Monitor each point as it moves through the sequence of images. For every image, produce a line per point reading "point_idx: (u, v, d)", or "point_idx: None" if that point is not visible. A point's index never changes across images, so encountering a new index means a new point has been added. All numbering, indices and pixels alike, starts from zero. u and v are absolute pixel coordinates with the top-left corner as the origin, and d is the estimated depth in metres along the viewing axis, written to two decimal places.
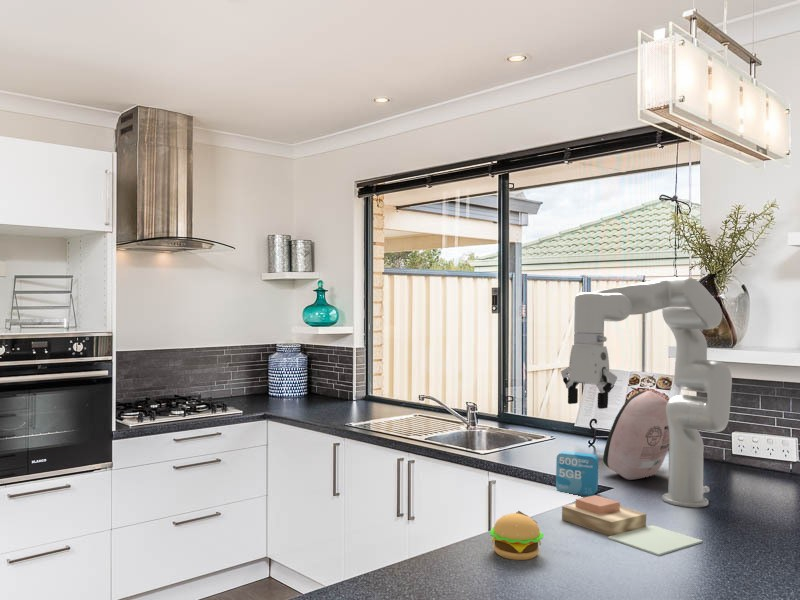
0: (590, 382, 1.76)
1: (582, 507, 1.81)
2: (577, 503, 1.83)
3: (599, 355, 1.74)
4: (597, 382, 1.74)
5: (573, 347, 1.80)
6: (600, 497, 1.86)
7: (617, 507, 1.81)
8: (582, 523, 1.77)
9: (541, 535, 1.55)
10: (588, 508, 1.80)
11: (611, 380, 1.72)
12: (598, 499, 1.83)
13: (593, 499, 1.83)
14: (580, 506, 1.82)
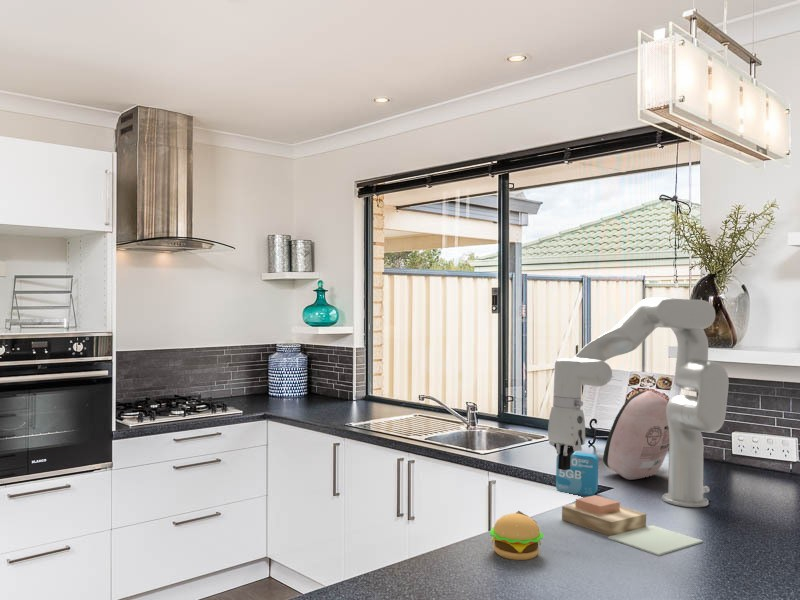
0: (567, 443, 1.88)
1: (582, 507, 1.81)
2: (577, 503, 1.83)
3: (576, 419, 1.87)
4: (573, 444, 1.87)
5: (552, 409, 1.93)
6: (600, 497, 1.86)
7: (617, 507, 1.81)
8: (582, 523, 1.77)
9: (541, 535, 1.55)
10: (588, 508, 1.80)
11: (575, 449, 1.88)
12: (598, 499, 1.83)
13: (593, 499, 1.83)
14: (580, 506, 1.82)
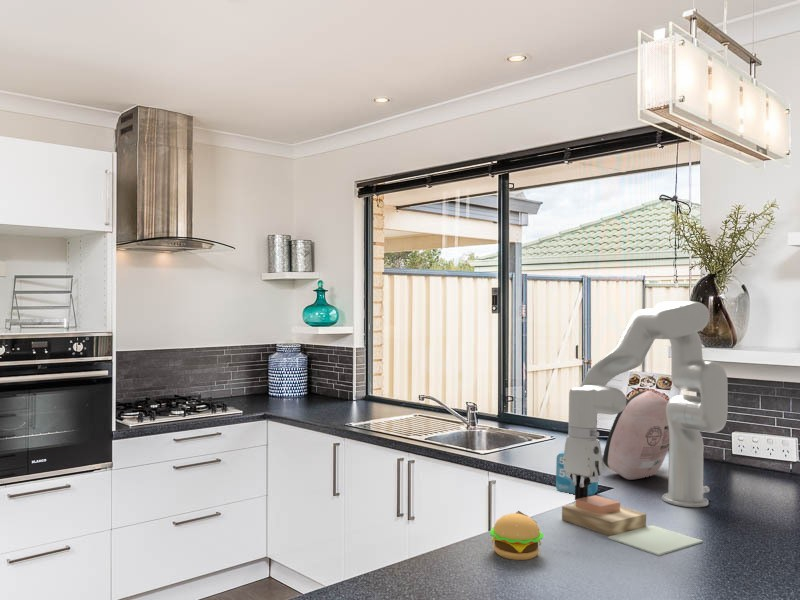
0: (583, 475, 1.84)
1: (582, 507, 1.81)
2: (577, 503, 1.83)
3: (592, 449, 1.82)
4: (590, 475, 1.82)
5: (568, 439, 1.88)
6: (600, 497, 1.86)
7: (617, 507, 1.81)
8: (582, 523, 1.77)
9: (541, 535, 1.55)
10: (588, 508, 1.80)
11: (592, 480, 1.83)
12: (598, 499, 1.83)
13: (593, 499, 1.83)
14: (580, 506, 1.82)
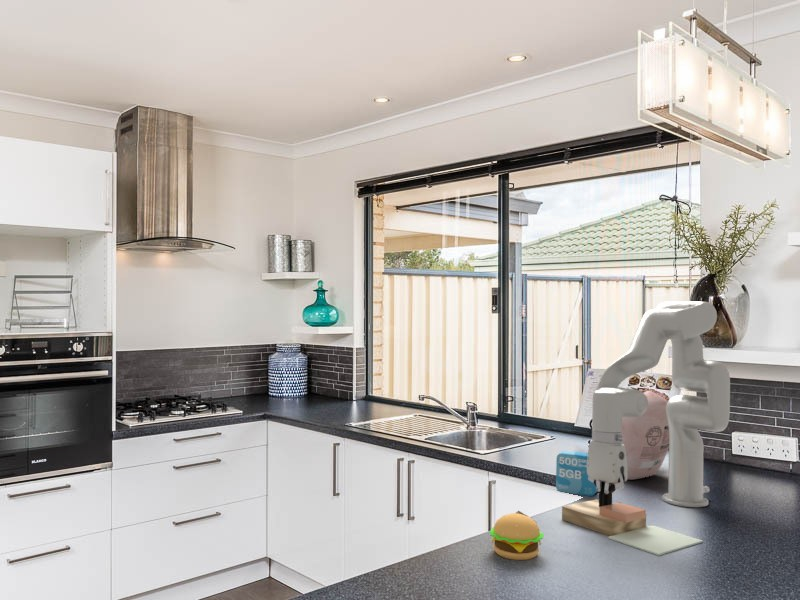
0: (608, 481, 1.77)
1: (606, 515, 1.74)
2: (601, 511, 1.76)
3: (617, 455, 1.76)
4: (615, 482, 1.76)
5: (591, 443, 1.82)
6: (624, 504, 1.79)
7: (643, 515, 1.74)
8: (582, 523, 1.77)
9: (541, 535, 1.55)
10: (613, 516, 1.73)
11: (617, 486, 1.76)
12: (623, 507, 1.77)
13: (618, 507, 1.76)
14: (604, 514, 1.75)
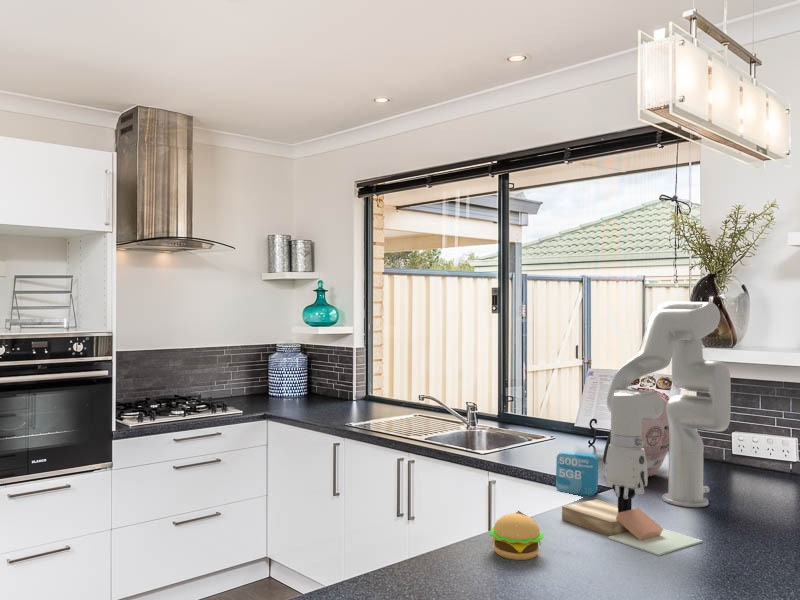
0: (628, 486, 1.72)
1: (623, 523, 1.70)
2: (619, 517, 1.71)
3: (637, 459, 1.71)
4: (635, 487, 1.71)
5: (610, 447, 1.77)
6: (643, 514, 1.74)
7: (659, 533, 1.70)
8: (582, 523, 1.77)
9: (541, 535, 1.55)
10: (629, 528, 1.68)
11: (637, 492, 1.72)
12: (641, 518, 1.72)
13: (636, 517, 1.71)
14: (621, 521, 1.71)
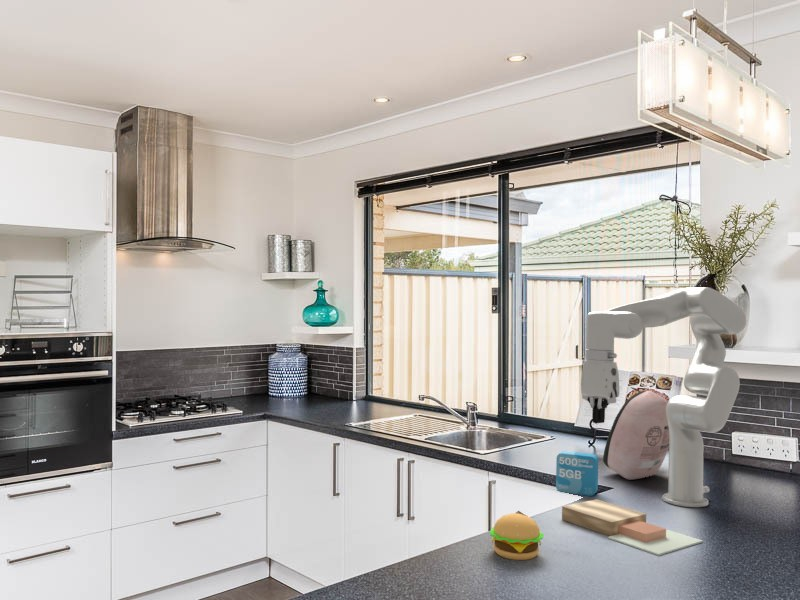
0: (601, 396, 1.87)
1: (626, 534, 1.69)
2: (620, 529, 1.71)
3: (610, 371, 1.86)
4: (608, 396, 1.86)
5: (585, 362, 1.92)
6: (644, 523, 1.74)
7: (663, 534, 1.69)
8: (582, 523, 1.77)
9: (541, 535, 1.55)
10: (632, 535, 1.68)
11: (609, 401, 1.87)
12: (642, 525, 1.72)
13: (637, 525, 1.71)
14: (623, 533, 1.70)
